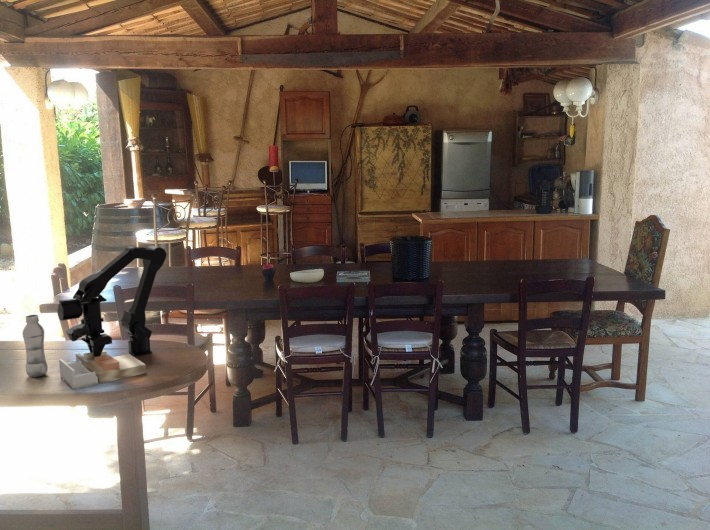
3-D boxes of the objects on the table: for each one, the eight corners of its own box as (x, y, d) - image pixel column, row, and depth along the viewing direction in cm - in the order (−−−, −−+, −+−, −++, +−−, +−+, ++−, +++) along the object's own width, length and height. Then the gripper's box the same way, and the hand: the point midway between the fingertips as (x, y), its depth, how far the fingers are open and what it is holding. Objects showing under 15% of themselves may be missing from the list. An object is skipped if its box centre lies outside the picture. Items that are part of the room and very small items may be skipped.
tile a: (108, 360, 214) (108, 354, 214) (113, 363, 211) (113, 357, 210) (94, 363, 211) (94, 357, 211) (99, 366, 208) (99, 360, 208)
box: (83, 372, 211) (82, 354, 210) (98, 384, 201) (96, 365, 200) (60, 377, 207) (59, 359, 206) (74, 389, 196) (72, 370, 195)
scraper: (100, 355, 228) (99, 346, 227) (112, 364, 219) (111, 354, 218) (76, 360, 223) (75, 351, 222) (87, 369, 214) (86, 359, 213)
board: (129, 362, 221) (129, 353, 221) (145, 373, 211) (145, 364, 210) (84, 371, 212) (84, 363, 211) (99, 383, 201) (98, 374, 201)
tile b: (114, 364, 210) (114, 358, 210) (119, 367, 207) (119, 361, 206) (100, 367, 207) (100, 361, 207) (105, 370, 204) (105, 364, 204)
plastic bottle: (25, 380, 204) (19, 319, 200) (27, 373, 210) (21, 314, 206) (48, 377, 206) (42, 317, 202) (48, 371, 212) (43, 312, 209)
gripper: (58, 314, 220) (62, 357, 223) (76, 325, 206) (80, 371, 209) (92, 308, 227) (95, 351, 230) (111, 319, 213) (114, 364, 216)
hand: (95, 359), depth 221 cm, fingers closed on scraper, 2 cm apart
